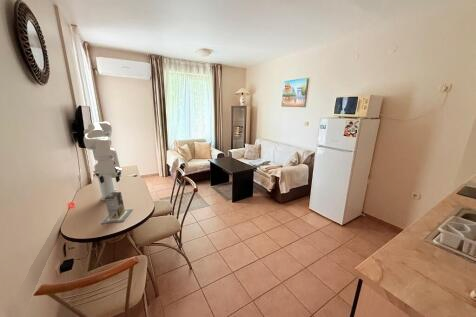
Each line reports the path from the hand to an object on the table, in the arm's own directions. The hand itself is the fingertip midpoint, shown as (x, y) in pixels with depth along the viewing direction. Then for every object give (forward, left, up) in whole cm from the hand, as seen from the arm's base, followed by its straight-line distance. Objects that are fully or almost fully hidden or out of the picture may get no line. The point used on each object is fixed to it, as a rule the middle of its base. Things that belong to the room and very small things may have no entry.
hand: (110, 182), depth 128 cm
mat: (0, 0, -26) cm, 26 cm away
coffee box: (0, 0, -26) cm, 26 cm away
